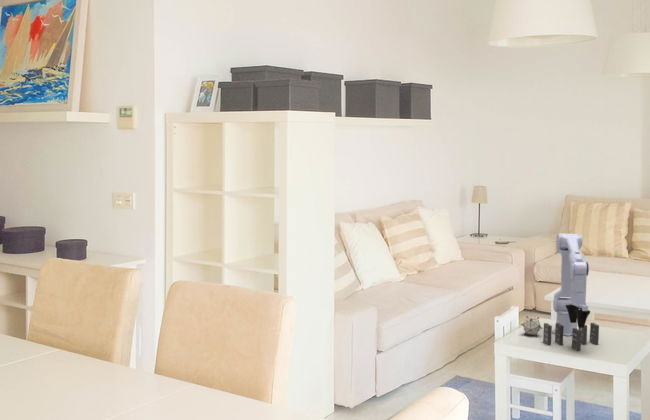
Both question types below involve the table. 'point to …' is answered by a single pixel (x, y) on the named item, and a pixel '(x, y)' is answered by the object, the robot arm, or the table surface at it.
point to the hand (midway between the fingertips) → (576, 325)
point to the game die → (531, 326)
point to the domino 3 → (576, 339)
